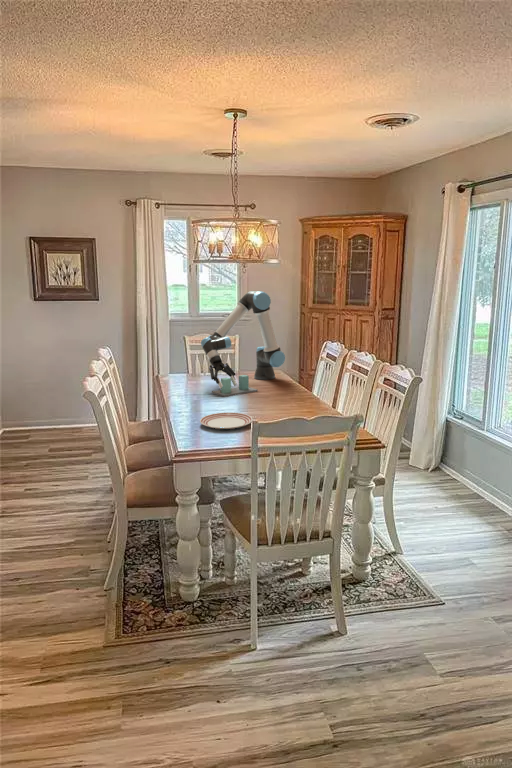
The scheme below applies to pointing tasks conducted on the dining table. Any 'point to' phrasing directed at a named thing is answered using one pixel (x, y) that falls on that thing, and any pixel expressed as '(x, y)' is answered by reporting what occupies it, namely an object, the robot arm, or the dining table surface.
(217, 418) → the dinner plate
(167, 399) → the dining table surface
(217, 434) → the dining table surface
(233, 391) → the grey slotted board
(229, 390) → the cylinder
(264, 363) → the robot arm
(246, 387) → the block
